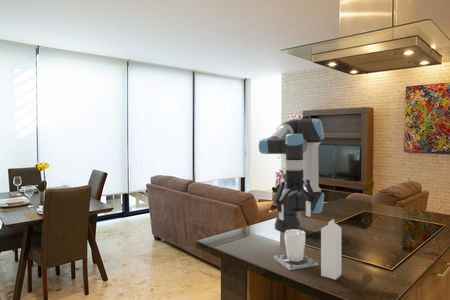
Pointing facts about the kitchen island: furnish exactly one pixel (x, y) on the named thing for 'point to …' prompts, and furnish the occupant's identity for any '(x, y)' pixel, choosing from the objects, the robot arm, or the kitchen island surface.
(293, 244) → the cup
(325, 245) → the milk
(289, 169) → the robot arm
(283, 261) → the flange
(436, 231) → the kitchen island surface
